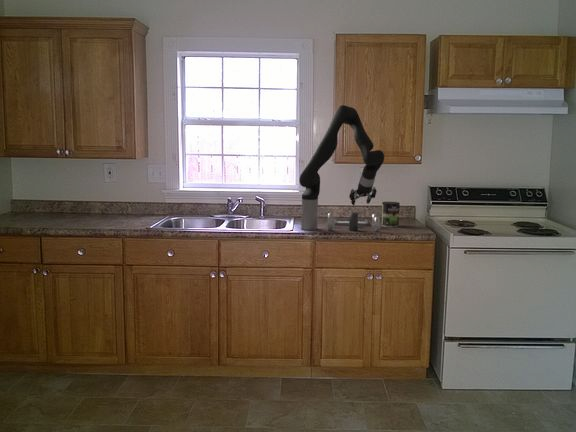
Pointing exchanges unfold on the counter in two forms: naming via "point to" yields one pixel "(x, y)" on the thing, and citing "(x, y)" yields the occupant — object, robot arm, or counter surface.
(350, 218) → the black standoff
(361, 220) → the tray
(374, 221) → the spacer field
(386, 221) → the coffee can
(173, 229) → the counter surface
